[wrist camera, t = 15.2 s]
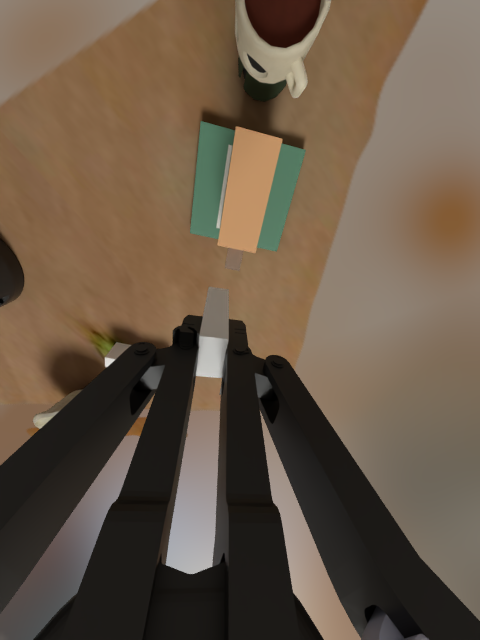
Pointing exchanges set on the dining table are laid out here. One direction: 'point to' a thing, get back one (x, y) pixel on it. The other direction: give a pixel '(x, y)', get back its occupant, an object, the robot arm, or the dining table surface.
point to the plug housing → (247, 192)
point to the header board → (214, 182)
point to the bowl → (53, 410)
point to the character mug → (276, 43)
